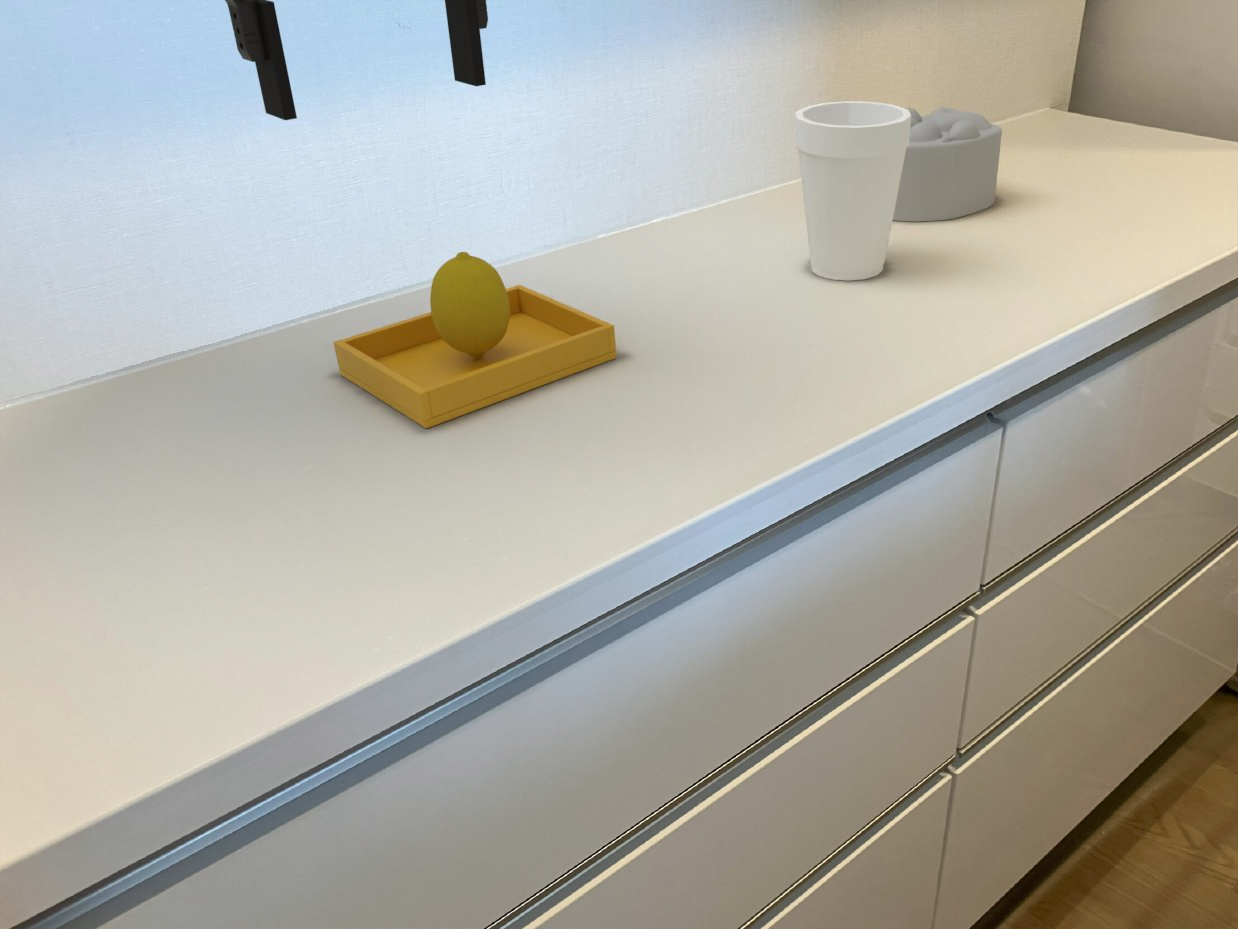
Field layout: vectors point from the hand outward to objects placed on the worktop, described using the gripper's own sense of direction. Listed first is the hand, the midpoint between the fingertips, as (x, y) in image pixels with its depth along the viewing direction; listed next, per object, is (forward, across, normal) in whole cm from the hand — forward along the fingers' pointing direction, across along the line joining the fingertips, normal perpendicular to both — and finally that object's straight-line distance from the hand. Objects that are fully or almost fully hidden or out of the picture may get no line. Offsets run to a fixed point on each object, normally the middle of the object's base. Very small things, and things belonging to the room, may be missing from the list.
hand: (380, 99), depth 74 cm
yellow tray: (+19, +3, -3) cm, 19 cm away
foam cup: (+19, +37, -8) cm, 43 cm away
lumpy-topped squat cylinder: (+19, +57, -2) cm, 60 cm away
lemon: (+18, +3, -3) cm, 19 cm away
